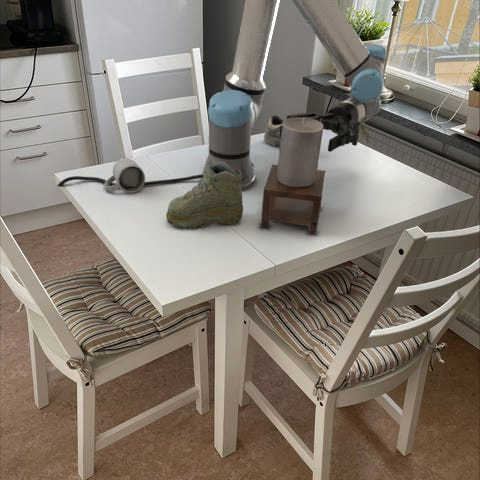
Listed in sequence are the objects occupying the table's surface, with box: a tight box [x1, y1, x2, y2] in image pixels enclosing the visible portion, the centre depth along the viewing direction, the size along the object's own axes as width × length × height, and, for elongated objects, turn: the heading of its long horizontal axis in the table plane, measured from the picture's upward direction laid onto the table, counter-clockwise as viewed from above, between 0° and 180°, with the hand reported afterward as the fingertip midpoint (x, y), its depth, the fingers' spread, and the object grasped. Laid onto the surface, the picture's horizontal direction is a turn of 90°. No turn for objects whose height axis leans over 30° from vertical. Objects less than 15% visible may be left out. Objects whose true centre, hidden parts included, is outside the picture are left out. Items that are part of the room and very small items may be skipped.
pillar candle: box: [277, 117, 324, 187], centre depth 121 cm, size 10×10×15 cm
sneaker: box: [165, 162, 244, 229], centre depth 125 cm, size 11×19×15 cm, turn 88°
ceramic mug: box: [103, 157, 146, 194], centre depth 140 cm, size 11×8×8 cm
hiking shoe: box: [263, 113, 294, 147], centre depth 168 cm, size 9×21×12 cm, turn 50°
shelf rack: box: [260, 164, 326, 236], centre depth 130 cm, size 14×15×11 cm
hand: (304, 138), depth 122 cm, fingers open, 13 cm apart
